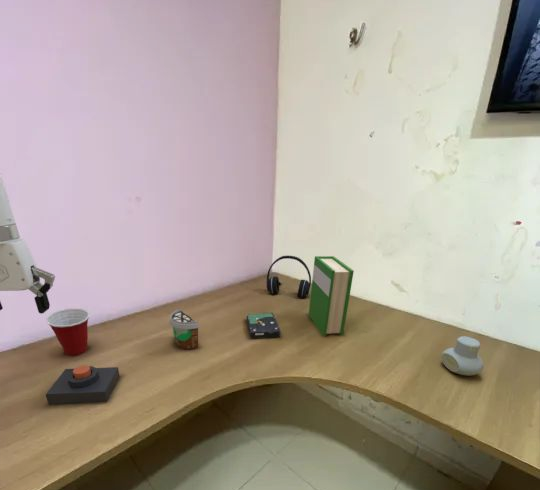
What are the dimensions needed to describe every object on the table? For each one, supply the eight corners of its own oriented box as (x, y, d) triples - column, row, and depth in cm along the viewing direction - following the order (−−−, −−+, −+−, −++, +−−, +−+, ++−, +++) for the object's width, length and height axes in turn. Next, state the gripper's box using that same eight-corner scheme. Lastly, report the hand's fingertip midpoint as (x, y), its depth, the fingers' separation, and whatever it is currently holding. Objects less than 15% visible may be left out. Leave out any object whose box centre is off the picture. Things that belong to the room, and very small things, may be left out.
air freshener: (484, 379, 90) (497, 349, 86) (460, 381, 88) (471, 352, 84) (457, 358, 99) (466, 331, 95) (434, 360, 98) (443, 332, 94)
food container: (165, 339, 102) (162, 312, 98) (182, 334, 106) (180, 307, 102) (182, 356, 94) (179, 327, 90) (200, 349, 98) (198, 321, 93)
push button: (71, 380, 75) (70, 374, 74) (78, 371, 78) (76, 365, 77) (87, 379, 75) (86, 373, 74) (93, 370, 78) (92, 364, 78)
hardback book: (343, 335, 110) (353, 270, 100) (323, 336, 109) (332, 270, 99) (326, 314, 126) (333, 256, 116) (308, 314, 124) (314, 256, 114)
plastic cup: (68, 365, 87) (58, 327, 82) (48, 353, 92) (37, 317, 87) (104, 348, 96) (97, 313, 91) (84, 338, 101) (76, 304, 96)
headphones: (264, 294, 142) (266, 255, 134) (268, 289, 148) (270, 252, 140) (308, 300, 138) (312, 260, 130) (310, 295, 144) (314, 256, 136)
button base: (48, 404, 73) (43, 388, 71) (68, 378, 82) (63, 363, 80) (107, 402, 75) (103, 385, 73) (119, 376, 84) (116, 361, 82)
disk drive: (280, 338, 107) (272, 318, 120) (281, 330, 106) (272, 311, 119) (250, 339, 105) (246, 319, 118) (251, 332, 104) (246, 313, 117)
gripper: (-71, 237, 57) (-36, 320, 64) (31, 238, 60) (54, 318, 67) (-40, 229, 64) (-11, 305, 71) (51, 230, 66) (70, 304, 73)
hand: (20, 311), depth 69 cm, fingers open, 9 cm apart
